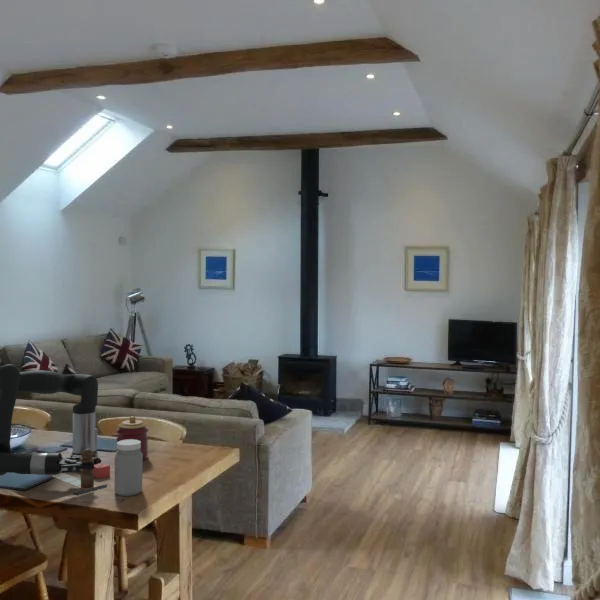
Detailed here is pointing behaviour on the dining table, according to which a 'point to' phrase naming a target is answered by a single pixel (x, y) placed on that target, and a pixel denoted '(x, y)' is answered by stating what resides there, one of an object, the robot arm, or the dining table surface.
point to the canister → (134, 433)
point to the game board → (77, 483)
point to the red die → (101, 470)
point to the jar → (128, 467)
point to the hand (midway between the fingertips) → (95, 463)
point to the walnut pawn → (87, 474)
